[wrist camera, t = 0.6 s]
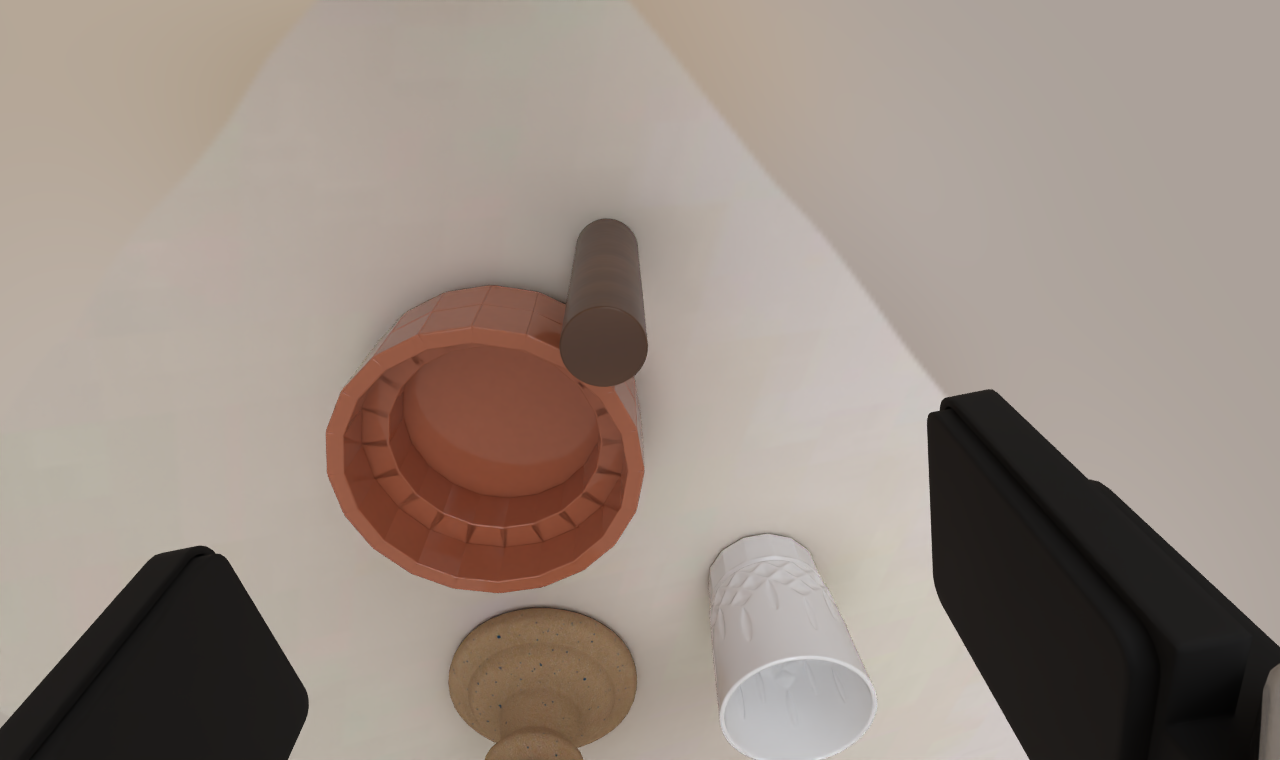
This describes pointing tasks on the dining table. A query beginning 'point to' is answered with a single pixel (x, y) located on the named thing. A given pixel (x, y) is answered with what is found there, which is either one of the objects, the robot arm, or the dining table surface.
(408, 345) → the bowl
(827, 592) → the white cup
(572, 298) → the dark brown cylinder
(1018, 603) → the robot arm
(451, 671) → the candle holder
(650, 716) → the dining table surface
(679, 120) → the dining table surface
